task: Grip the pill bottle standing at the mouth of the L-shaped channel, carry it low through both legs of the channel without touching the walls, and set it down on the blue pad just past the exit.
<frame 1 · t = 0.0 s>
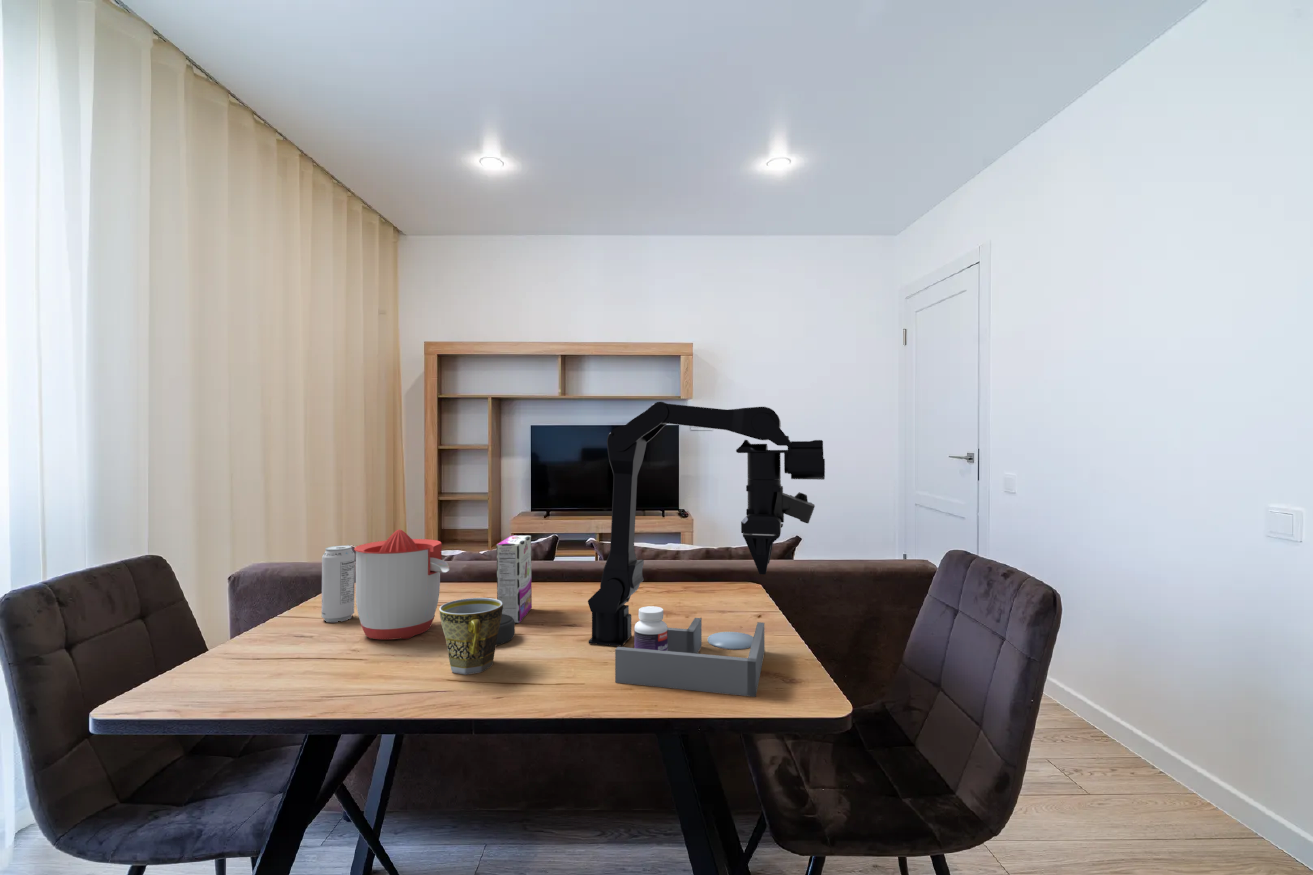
hand: (764, 568, 101), 15 cm above the table, tool pointing down, fingers open, 9 cm apart
ceramic cup: (472, 671, 93), on the table
channel: (692, 663, 95), on the table
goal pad: (731, 641, 107), on the table
citrus juicer: (402, 632, 113), on the table
candy bar box: (514, 616, 123), on the table
pill bottle: (651, 671, 93), on the table
smart speaker: (490, 641, 108), on the table
energy drink can: (338, 619, 121), on the table
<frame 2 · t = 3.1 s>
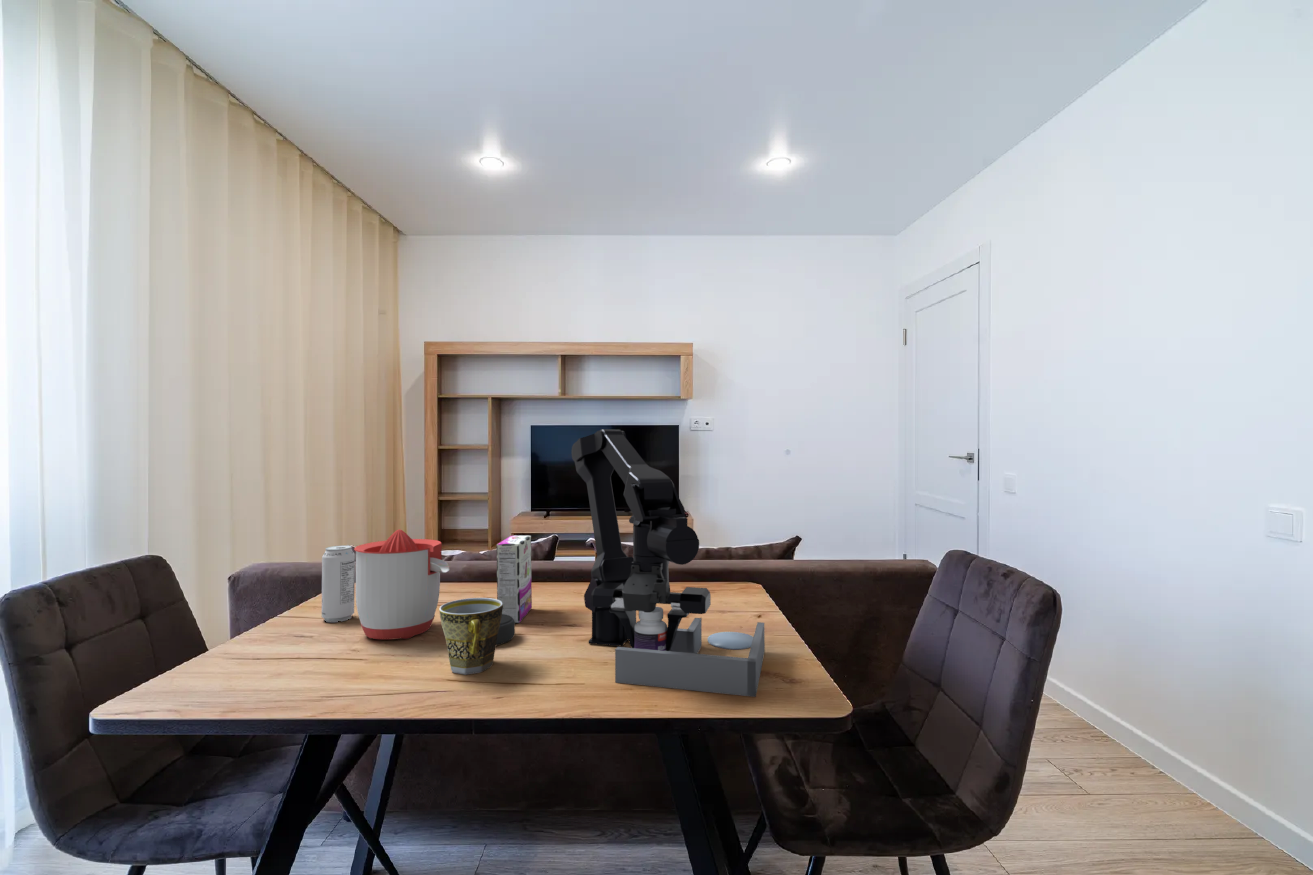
hand: (650, 650, 93), 3 cm above the table, tool pointing down, fingers closed on pill bottle, 5 cm apart
pill bottle: (651, 670, 93), on the table, touching gripper
everything else where it was.
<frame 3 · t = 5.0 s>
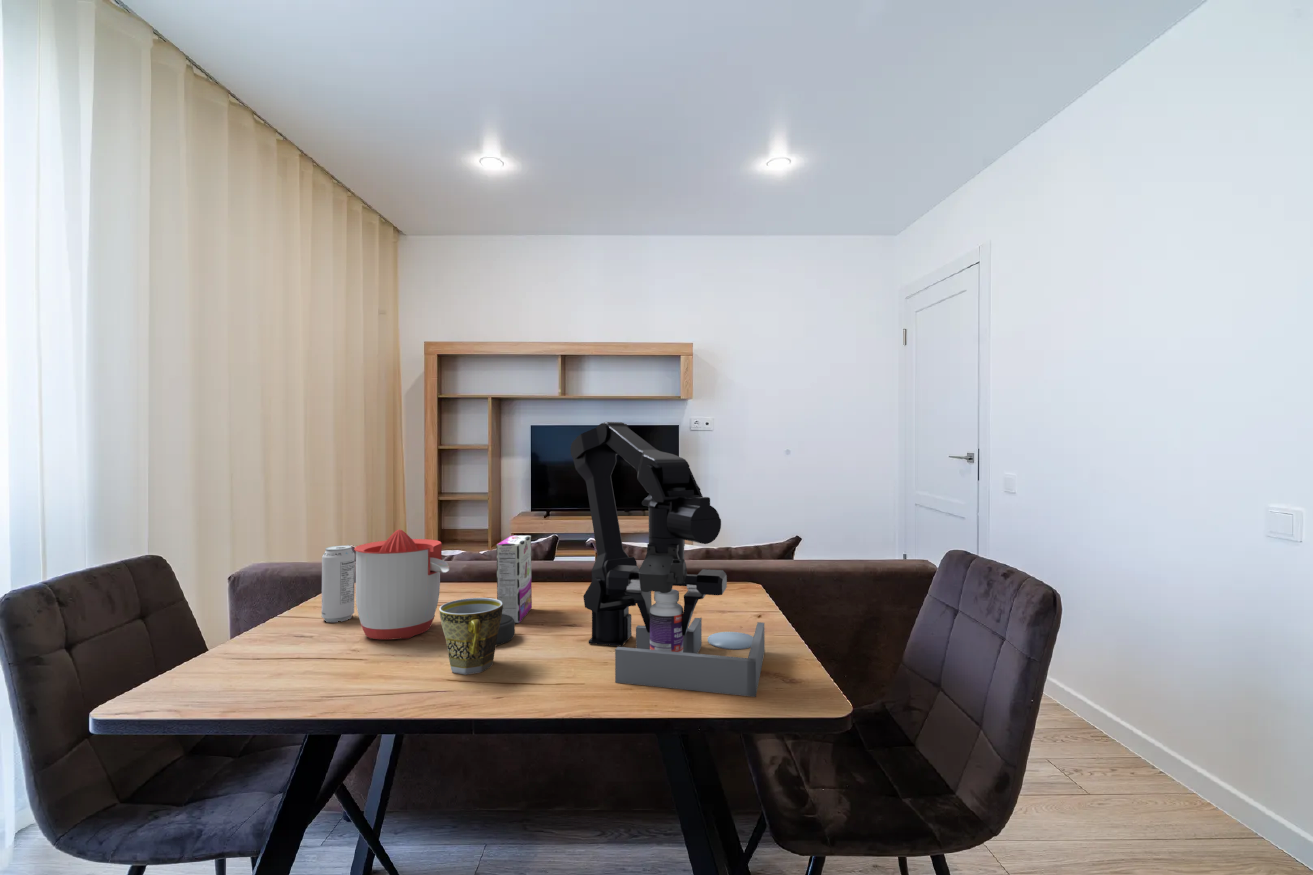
hand: (666, 633, 92), 6 cm above the table, tool pointing down, fingers closed on pill bottle, 5 cm apart
pill bottle: (666, 653, 92), point 3 cm above the table, touching gripper
everything else where it was.
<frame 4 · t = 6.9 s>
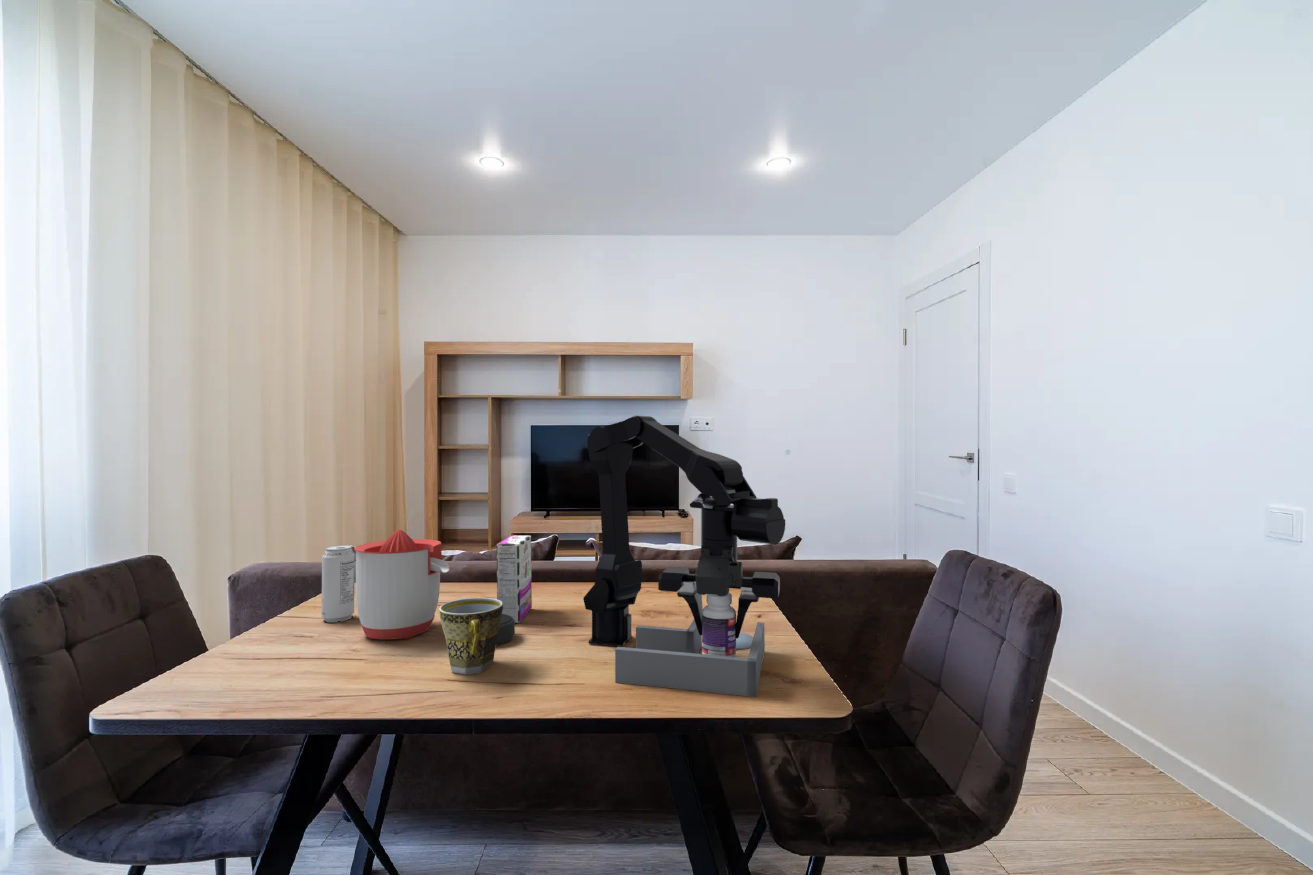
hand: (719, 636, 92), 6 cm above the table, tool pointing down, fingers closed on pill bottle, 5 cm apart
pill bottle: (719, 656, 91), point 3 cm above the table, touching gripper
everything else where it was.
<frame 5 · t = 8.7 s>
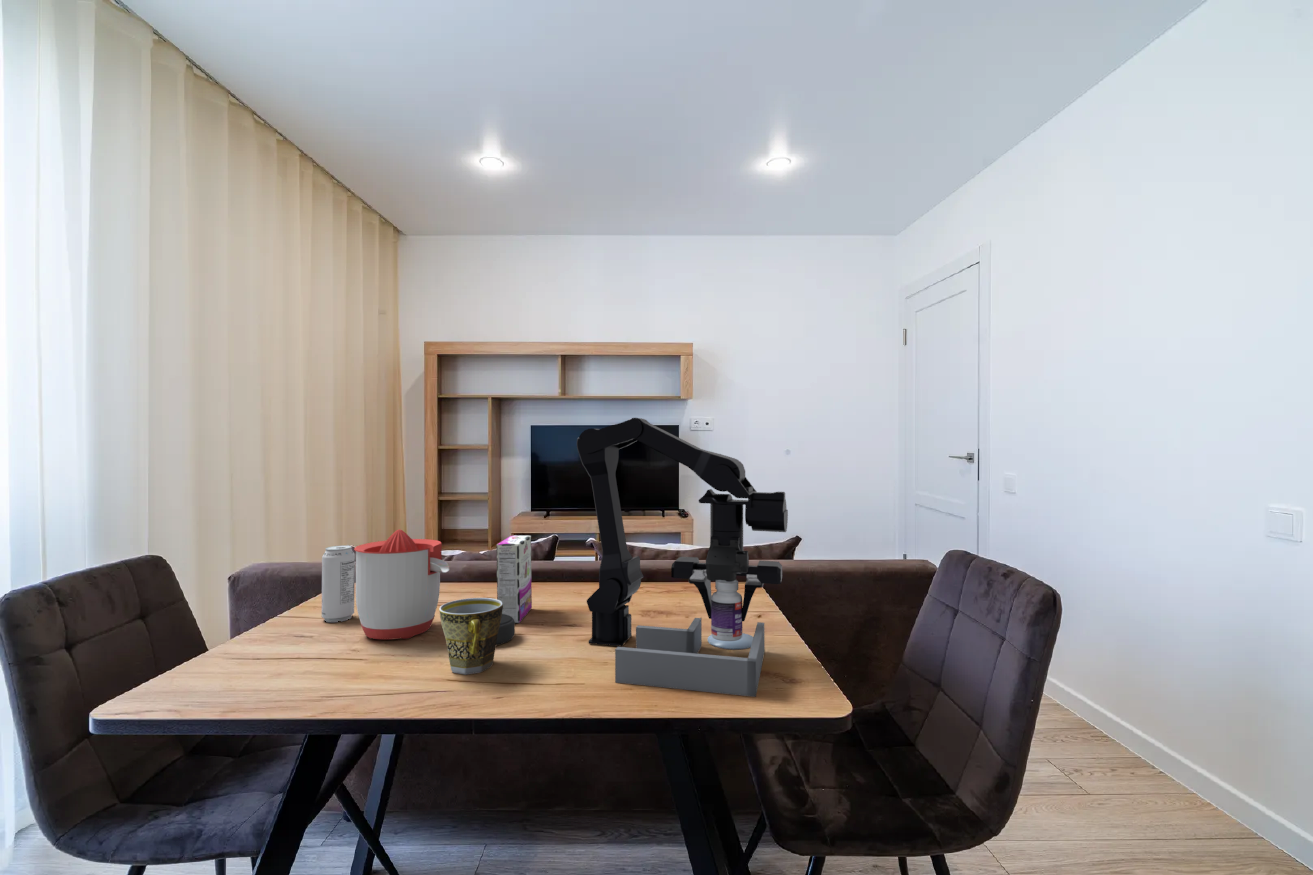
hand: (726, 619, 100), 6 cm above the table, tool pointing down, fingers closed on pill bottle, 5 cm apart
pill bottle: (726, 638, 100), point 3 cm above the table, touching gripper
everything else where it was.
when the fingers open (4 cm above the table, at t = 10.6 s): pill bottle drops 1 cm, resting on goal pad.
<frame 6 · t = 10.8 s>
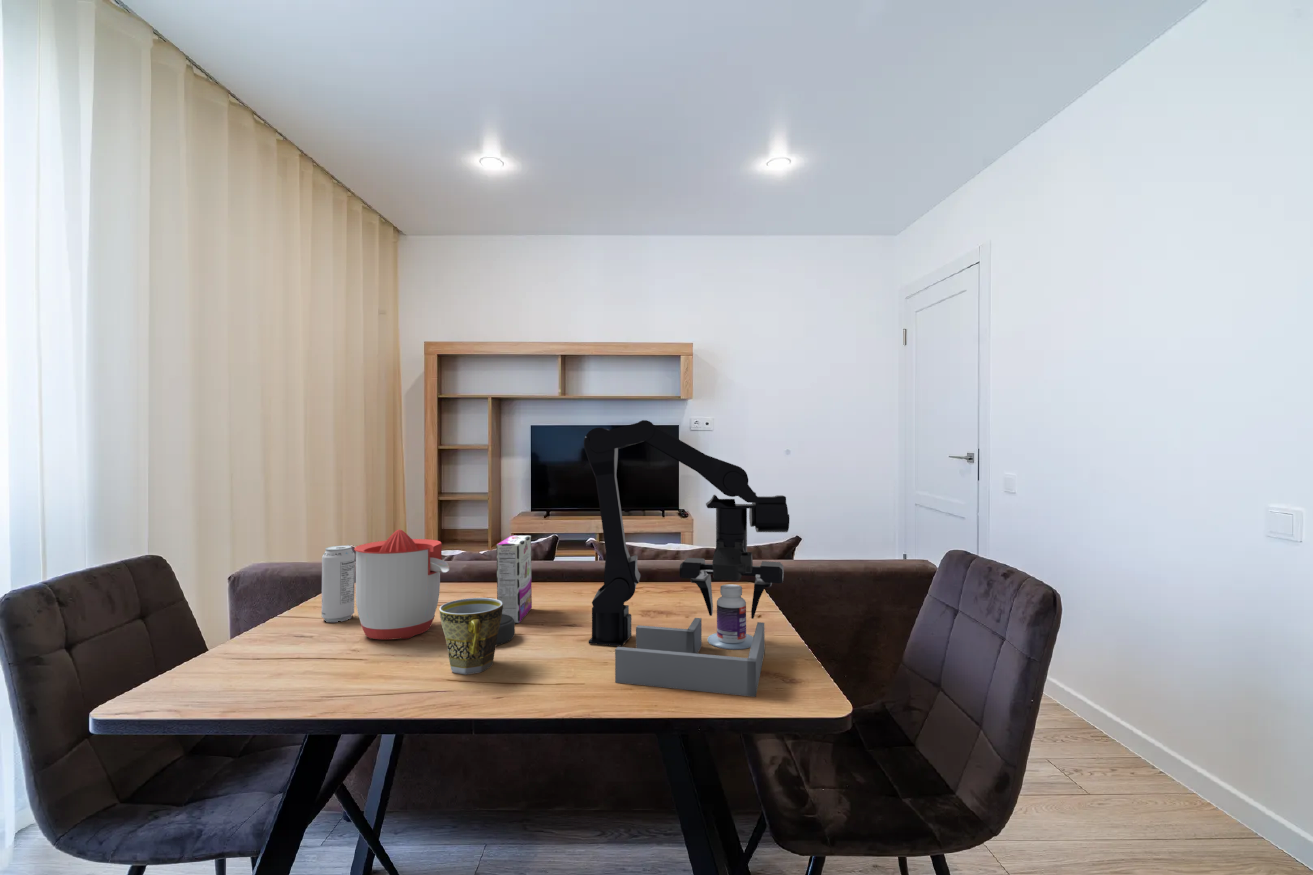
hand: (731, 616, 107), 4 cm above the table, tool pointing down, fingers open, 7 cm apart
pill bottle: (731, 640, 107), resting on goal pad
everything else where it was.
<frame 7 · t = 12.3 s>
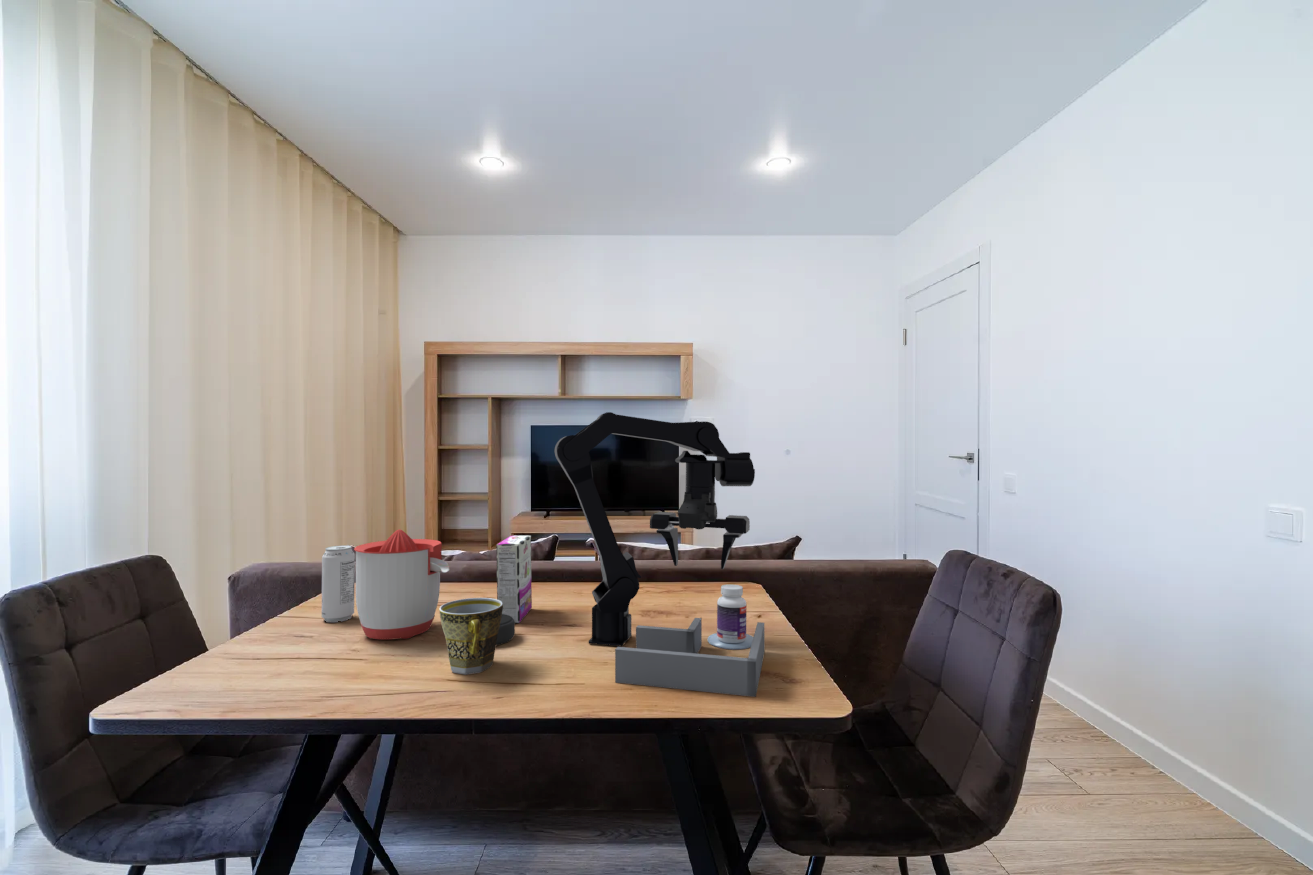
hand: (699, 567, 112), 13 cm above the table, tool pointing down, fingers open, 9 cm apart
nothing on the table moved.
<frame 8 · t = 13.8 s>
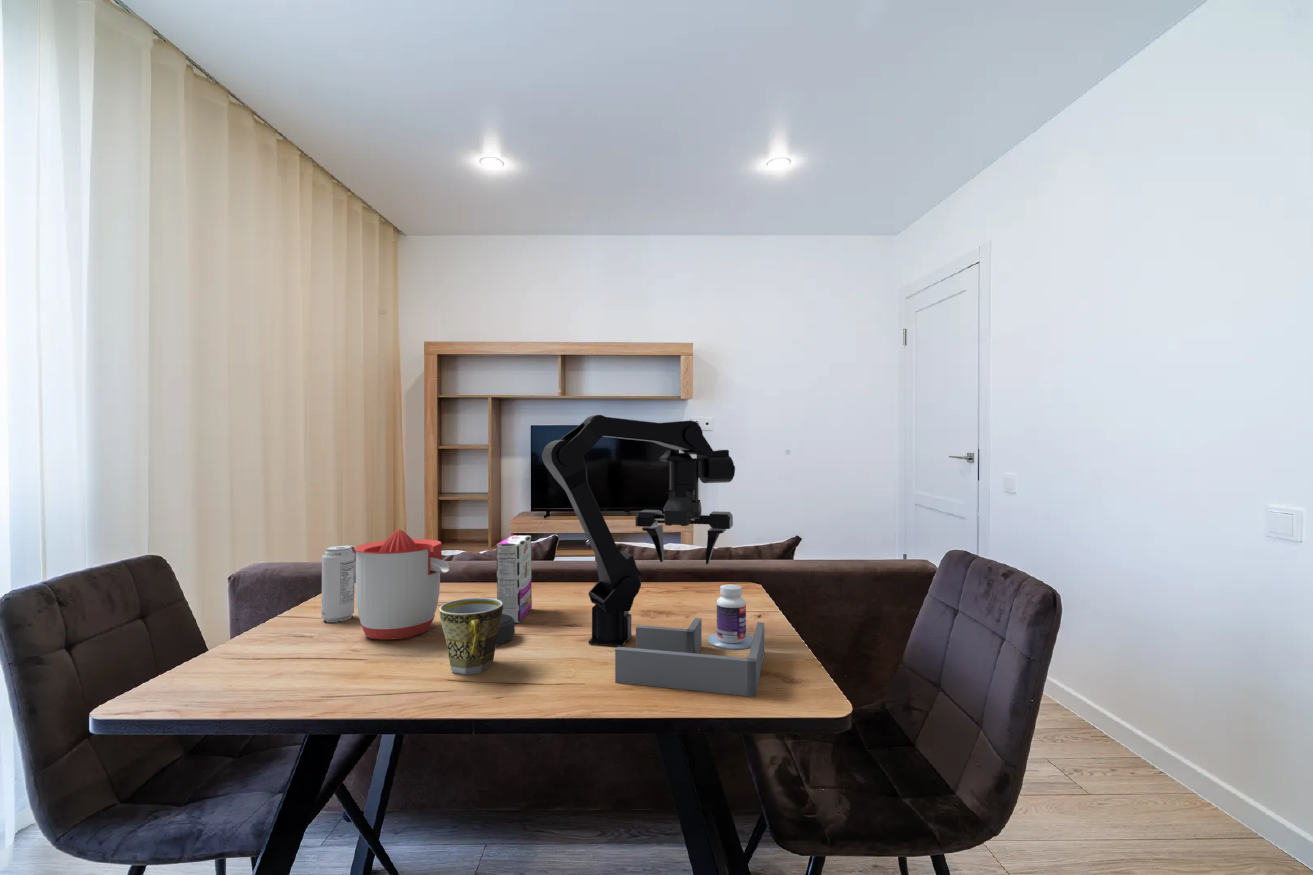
hand: (684, 562, 114), 13 cm above the table, tool pointing down, fingers open, 9 cm apart
nothing on the table moved.
at the end: pill bottle 0.1 cm from the target spot, resting on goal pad; pill bottle tilted 1°; pill bottle touching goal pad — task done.
